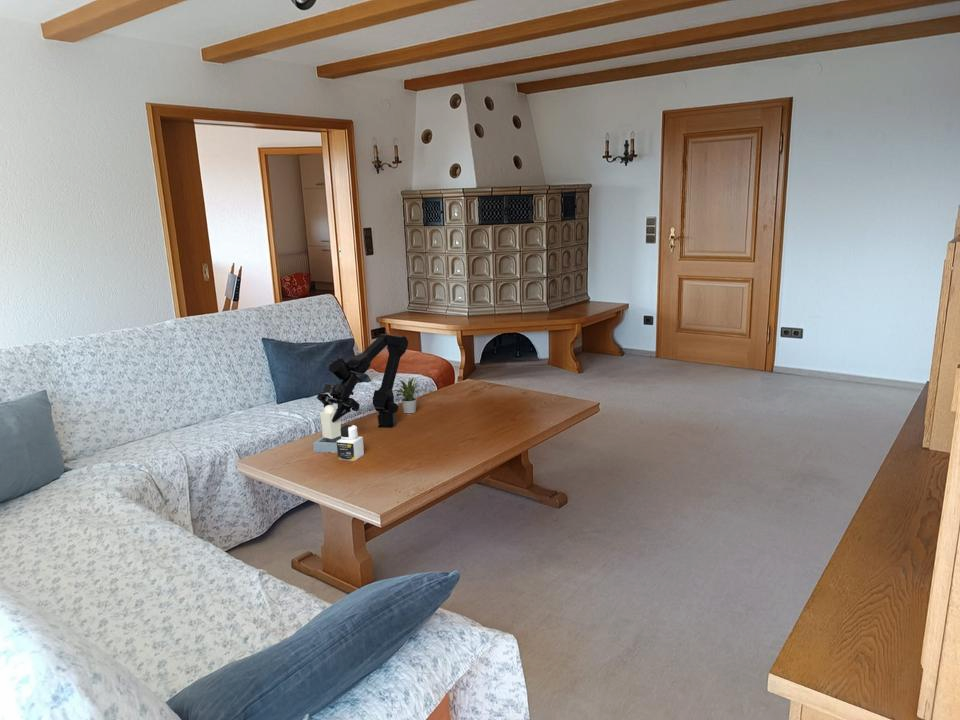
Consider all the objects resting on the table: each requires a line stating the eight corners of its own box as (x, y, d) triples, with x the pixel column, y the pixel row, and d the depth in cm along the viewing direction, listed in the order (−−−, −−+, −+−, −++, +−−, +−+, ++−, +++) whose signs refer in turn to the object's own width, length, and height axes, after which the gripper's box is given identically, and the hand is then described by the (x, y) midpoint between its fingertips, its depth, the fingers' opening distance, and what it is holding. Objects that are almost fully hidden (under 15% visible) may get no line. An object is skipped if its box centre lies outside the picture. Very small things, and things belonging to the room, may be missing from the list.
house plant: (398, 407, 307) (396, 373, 304) (427, 407, 305) (425, 372, 302) (390, 416, 293) (387, 380, 290) (420, 416, 291) (418, 380, 288)
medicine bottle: (337, 459, 242) (334, 428, 240) (347, 453, 249) (345, 422, 246) (354, 461, 240) (352, 429, 237) (364, 454, 246) (362, 423, 244)
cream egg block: (332, 433, 258) (329, 402, 255) (341, 435, 255) (338, 404, 252) (322, 437, 254) (319, 405, 251) (331, 439, 251) (328, 407, 248)
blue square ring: (352, 443, 259) (351, 434, 259) (340, 453, 249) (339, 444, 248) (326, 442, 262) (325, 433, 261) (313, 451, 252) (312, 443, 251)
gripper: (317, 372, 258) (298, 407, 252) (351, 377, 247) (332, 413, 241) (334, 387, 266) (316, 421, 260) (368, 393, 255) (349, 428, 249)
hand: (327, 420), depth 252 cm, fingers closed on cream egg block, 5 cm apart
